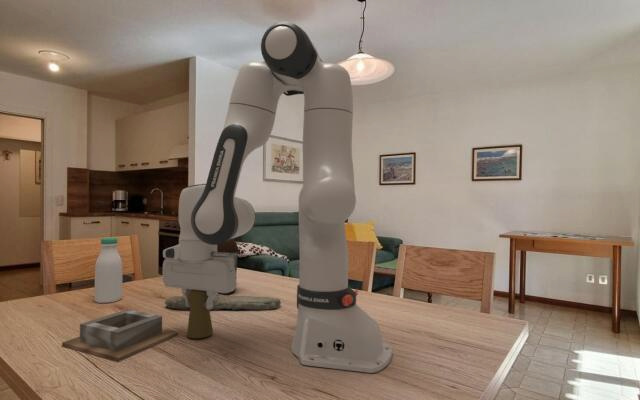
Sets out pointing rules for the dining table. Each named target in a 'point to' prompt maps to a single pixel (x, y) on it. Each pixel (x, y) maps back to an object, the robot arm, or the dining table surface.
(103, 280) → the milk bottle
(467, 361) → the dining table surface
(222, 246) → the olive oil
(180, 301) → the long grey stone
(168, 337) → the socket block
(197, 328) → the cork
